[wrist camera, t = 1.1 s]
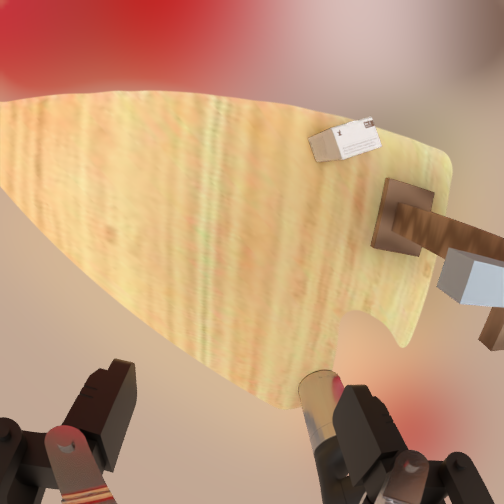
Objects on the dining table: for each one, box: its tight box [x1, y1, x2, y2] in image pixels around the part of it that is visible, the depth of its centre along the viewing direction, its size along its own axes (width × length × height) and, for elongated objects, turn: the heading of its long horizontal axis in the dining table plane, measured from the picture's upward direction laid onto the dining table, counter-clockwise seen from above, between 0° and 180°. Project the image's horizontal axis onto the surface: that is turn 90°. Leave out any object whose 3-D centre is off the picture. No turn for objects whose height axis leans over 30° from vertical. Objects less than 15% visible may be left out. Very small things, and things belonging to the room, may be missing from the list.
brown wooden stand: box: [371, 178, 504, 351], centre depth 32 cm, size 12×12×33 cm
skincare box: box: [308, 117, 382, 162], centre depth 38 cm, size 6×4×12 cm
